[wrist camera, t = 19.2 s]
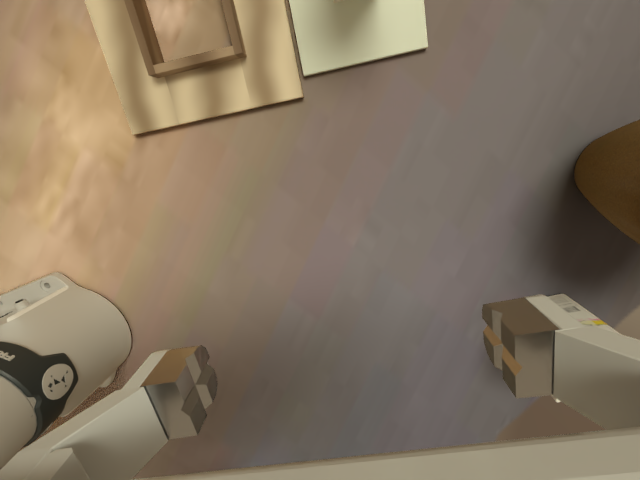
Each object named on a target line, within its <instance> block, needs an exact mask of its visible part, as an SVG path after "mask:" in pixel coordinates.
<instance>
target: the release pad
mask: <svg viewBox="0 0 640 480" xmlns="http://www.w3.org/2000/svg"><path fill="white" fill-rule="evenodd" d="M289 3H290V8H291V13H292V18H293V23H294V28H295V33H296V38H297V44H298V49H299V54H300V59H301V64H302V69H303V74H304V77H305V76H310V75H314V74H318V73H323V72H327V71H331V70H336V69H340V68H344V67H349V66H353V65H357V64H362V63H366V62H370V61H375V60H379V59H383V58H388V57H392V56H396V55H400V54H405V53H409V52H413V51H418V50H422V49H426V48H427V47H428V43H427V32H426V20H425V9H424V0H345V1H341V2H337V3H333V0H289Z"/></svg>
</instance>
